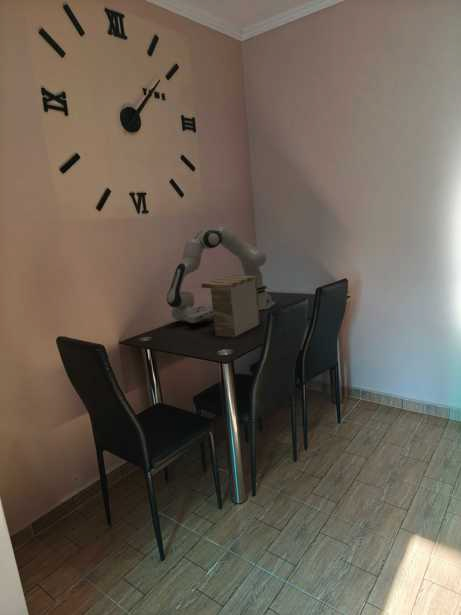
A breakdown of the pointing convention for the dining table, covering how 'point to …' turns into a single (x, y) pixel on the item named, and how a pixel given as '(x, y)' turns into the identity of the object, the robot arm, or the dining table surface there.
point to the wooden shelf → (234, 304)
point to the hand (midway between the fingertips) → (211, 316)
